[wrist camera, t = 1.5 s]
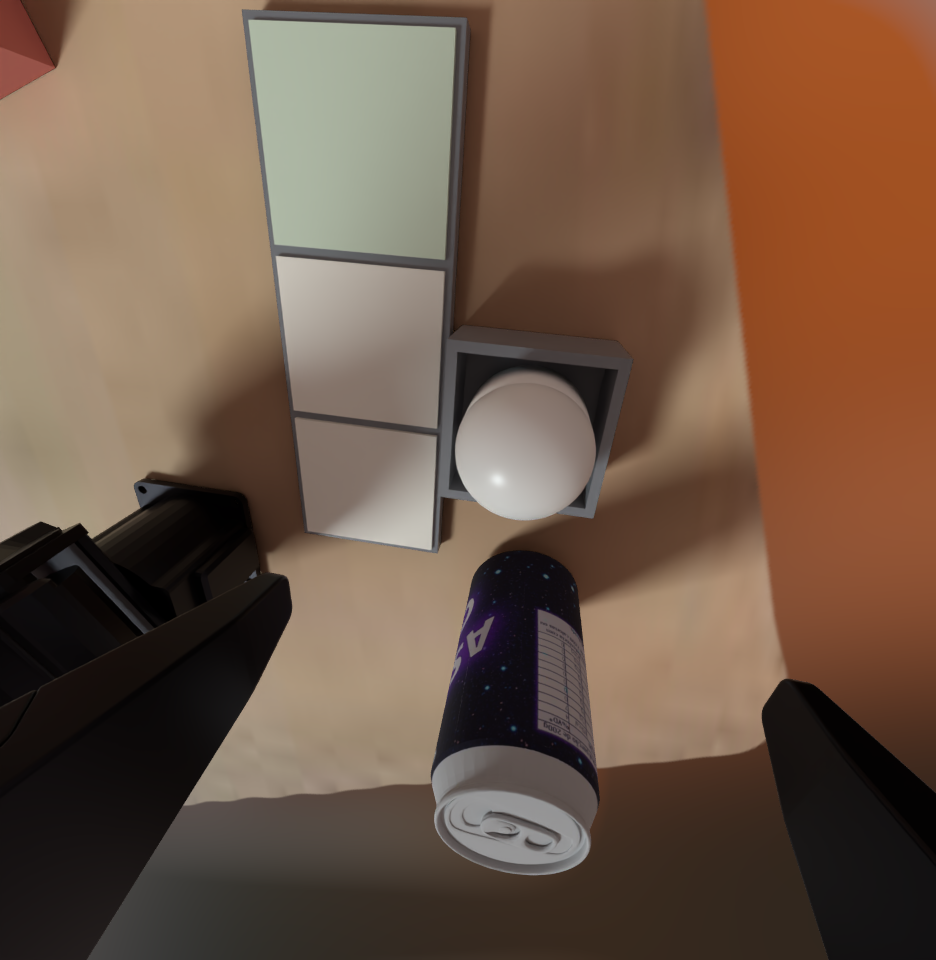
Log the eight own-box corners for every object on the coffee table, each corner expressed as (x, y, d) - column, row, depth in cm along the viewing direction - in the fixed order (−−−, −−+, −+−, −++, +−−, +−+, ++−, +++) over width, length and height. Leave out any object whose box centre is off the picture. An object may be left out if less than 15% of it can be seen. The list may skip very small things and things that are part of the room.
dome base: (453, 461, 21) (438, 496, 18) (462, 324, 18) (446, 339, 15) (585, 479, 21) (593, 518, 18) (617, 340, 18) (633, 359, 15)
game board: (311, 524, 25) (303, 534, 24) (255, 20, 15) (237, 6, 14) (440, 544, 24) (436, 555, 23) (470, 29, 14) (466, 14, 13)
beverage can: (492, 525, 23) (450, 759, 12) (594, 561, 23) (639, 825, 12) (460, 600, 25) (403, 845, 15) (551, 632, 26) (559, 898, 15)
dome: (462, 471, 19) (438, 536, 14) (471, 358, 16) (446, 395, 12) (575, 487, 18) (586, 559, 14) (600, 373, 16) (622, 417, 12)
